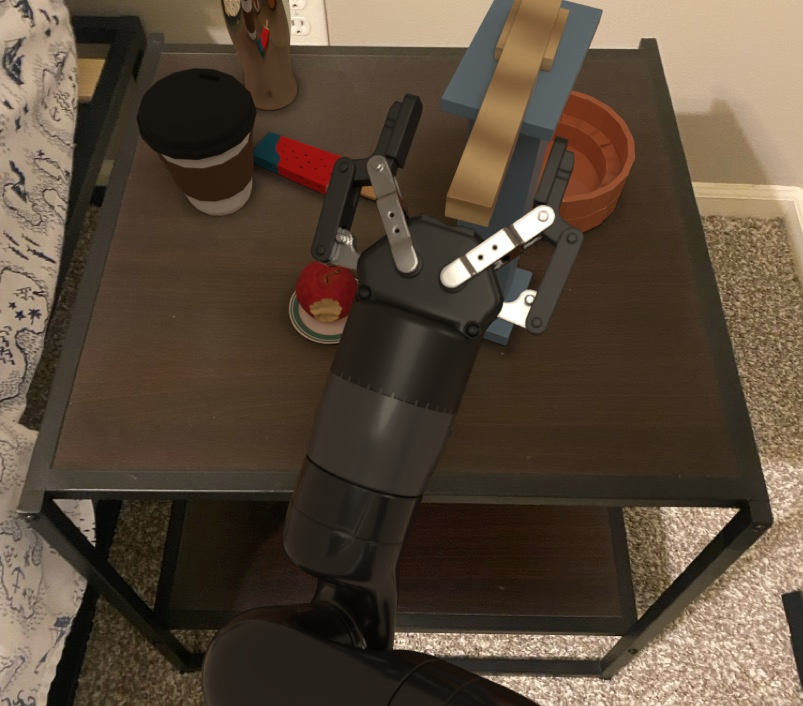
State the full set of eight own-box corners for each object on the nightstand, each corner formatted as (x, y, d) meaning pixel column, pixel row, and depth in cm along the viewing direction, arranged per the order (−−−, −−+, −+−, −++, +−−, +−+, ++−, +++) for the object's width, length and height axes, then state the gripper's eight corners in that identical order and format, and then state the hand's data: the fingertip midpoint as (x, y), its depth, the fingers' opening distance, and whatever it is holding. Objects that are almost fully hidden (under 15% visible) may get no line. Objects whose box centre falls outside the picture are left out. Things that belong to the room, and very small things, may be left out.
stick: (498, 230, 38) (502, 210, 36) (433, 213, 38) (435, 193, 37) (566, 23, 46) (572, 0, 45) (512, 12, 47) (516, -11, 45)
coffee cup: (193, 147, 79) (162, 54, 68) (287, 167, 77) (270, 75, 67) (152, 222, 73) (111, 133, 63) (251, 244, 72) (227, 157, 62)
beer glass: (310, 79, 84) (295, -45, 71) (287, 119, 81) (267, -4, 68) (255, 67, 85) (231, -58, 72) (231, 105, 82) (201, -18, 69)
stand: (499, 363, 66) (562, 132, 41) (418, 335, 67) (432, 95, 43) (536, 266, 71) (610, 11, 47) (460, 242, 72) (495, -18, 48)
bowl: (616, 137, 80) (631, 94, 75) (620, 248, 72) (638, 208, 67) (476, 124, 81) (481, 80, 76) (465, 232, 73) (471, 192, 68)
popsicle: (372, 204, 73) (248, 155, 76) (372, 214, 74) (250, 165, 77) (392, 175, 75) (270, 128, 78) (392, 185, 76) (272, 138, 79)
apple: (389, 317, 68) (389, 277, 62) (320, 361, 65) (313, 324, 60) (341, 263, 71) (337, 220, 65) (273, 303, 69) (262, 262, 63)
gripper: (511, 448, 35) (622, 132, 34) (252, 353, 37) (352, 57, 37) (514, 434, 42) (606, 174, 42) (298, 356, 45) (381, 109, 44)
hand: (486, 119), depth 39 cm, fingers open, 8 cm apart
